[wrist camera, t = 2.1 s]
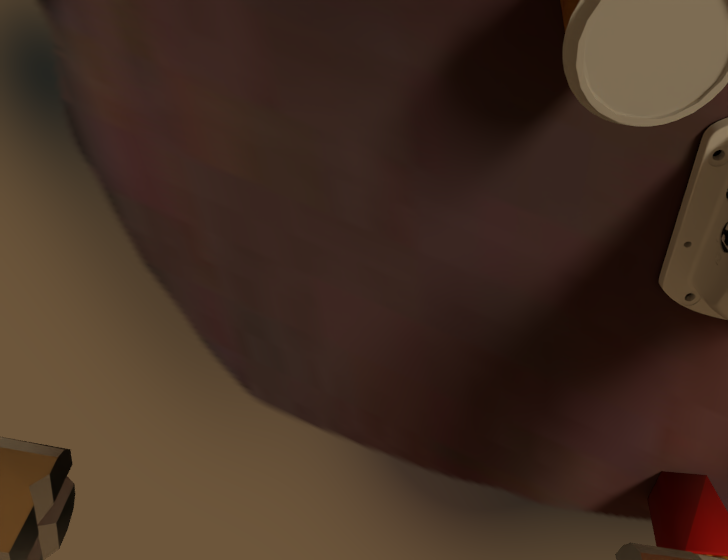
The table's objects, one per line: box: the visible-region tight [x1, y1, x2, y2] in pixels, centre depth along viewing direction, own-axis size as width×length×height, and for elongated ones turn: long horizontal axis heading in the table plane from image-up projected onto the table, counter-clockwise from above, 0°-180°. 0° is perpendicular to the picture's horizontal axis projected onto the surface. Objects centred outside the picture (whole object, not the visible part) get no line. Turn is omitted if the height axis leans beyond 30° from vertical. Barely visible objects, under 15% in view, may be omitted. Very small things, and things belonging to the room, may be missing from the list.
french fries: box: [648, 472, 728, 559], centre depth 69 cm, size 9×8×15 cm
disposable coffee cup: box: [560, 0, 728, 126], centre depth 41 cm, size 10×10×12 cm
